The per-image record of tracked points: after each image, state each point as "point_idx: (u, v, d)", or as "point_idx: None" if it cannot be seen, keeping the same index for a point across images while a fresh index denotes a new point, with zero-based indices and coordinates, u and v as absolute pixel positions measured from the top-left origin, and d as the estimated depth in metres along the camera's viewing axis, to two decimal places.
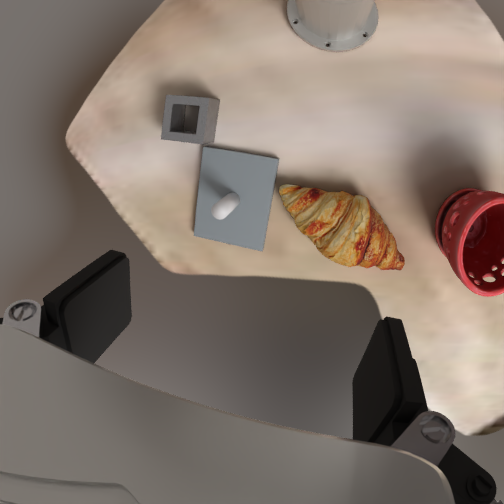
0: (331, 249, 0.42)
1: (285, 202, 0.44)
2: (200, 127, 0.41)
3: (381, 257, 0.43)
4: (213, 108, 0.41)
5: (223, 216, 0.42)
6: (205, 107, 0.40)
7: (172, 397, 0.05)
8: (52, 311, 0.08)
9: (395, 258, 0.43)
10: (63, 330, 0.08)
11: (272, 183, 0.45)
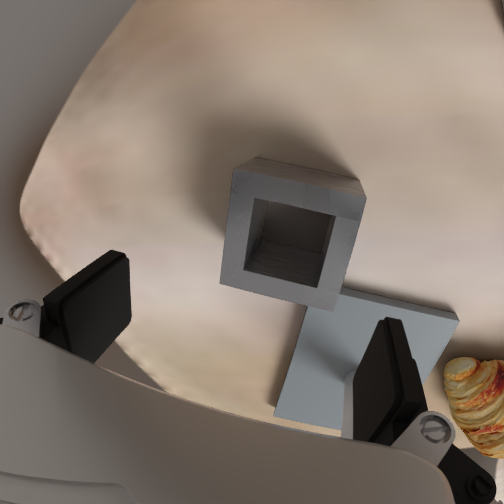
0: (494, 451, 0.18)
1: (453, 393, 0.19)
2: (331, 272, 0.16)
3: None
4: None
5: None
6: (351, 223, 0.15)
7: (172, 397, 0.05)
8: (52, 311, 0.08)
9: None
10: (63, 330, 0.08)
11: (436, 358, 0.21)
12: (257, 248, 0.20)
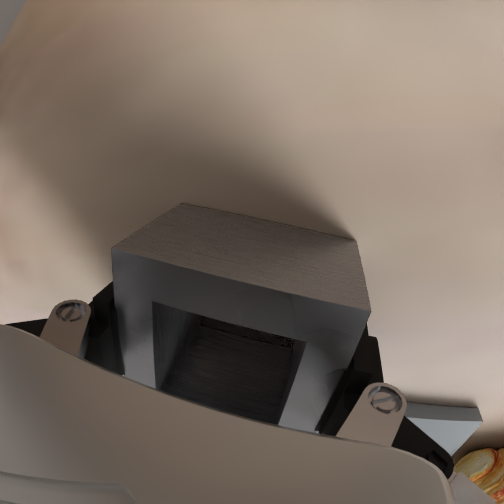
0: None
1: None
2: (298, 418, 0.09)
3: None
4: None
5: None
6: (336, 353, 0.07)
7: (172, 397, 0.05)
8: (103, 311, 0.08)
9: None
10: (112, 330, 0.09)
11: None
12: (190, 346, 0.12)
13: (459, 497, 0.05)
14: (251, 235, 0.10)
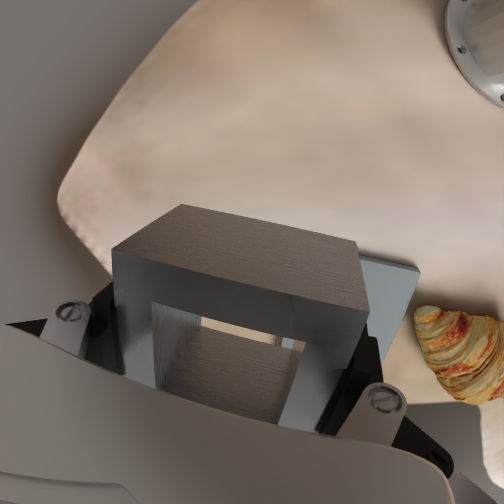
0: (465, 394, 0.25)
1: (423, 334, 0.27)
2: (297, 418, 0.09)
3: None
4: None
5: None
6: (335, 353, 0.07)
7: (172, 397, 0.05)
8: (103, 311, 0.08)
9: None
10: (112, 330, 0.09)
11: (405, 305, 0.28)
12: (190, 346, 0.12)
13: (459, 497, 0.05)
14: (251, 236, 0.10)
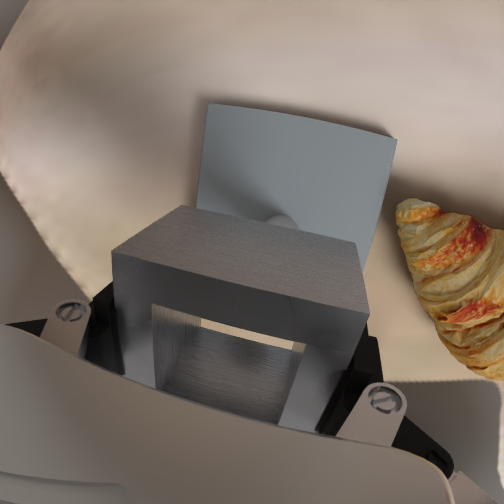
0: (488, 358, 0.15)
1: (412, 243, 0.16)
2: (297, 419, 0.09)
3: None
4: None
5: None
6: (336, 355, 0.07)
7: (172, 397, 0.05)
8: (103, 311, 0.08)
9: None
10: (112, 329, 0.09)
11: (380, 197, 0.18)
12: (190, 347, 0.12)
13: (459, 497, 0.05)
14: (250, 237, 0.10)
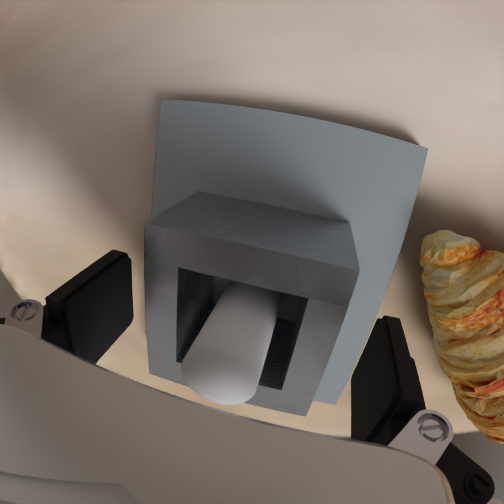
0: None
1: (442, 296, 0.11)
2: (302, 373, 0.10)
3: None
4: None
5: (237, 397, 0.09)
6: (333, 308, 0.09)
7: (172, 397, 0.05)
8: (54, 311, 0.08)
9: None
10: (65, 330, 0.08)
11: (401, 230, 0.12)
12: (204, 319, 0.14)
13: None
14: (260, 215, 0.12)
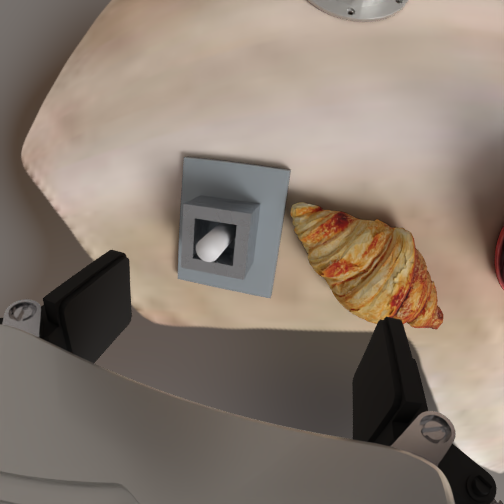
0: (357, 301, 0.29)
1: (298, 228, 0.31)
2: (239, 256, 0.30)
3: (417, 314, 0.30)
4: (254, 222, 0.31)
5: (213, 257, 0.28)
6: (245, 228, 0.29)
7: (172, 397, 0.05)
8: (52, 311, 0.08)
9: (434, 314, 0.31)
10: (63, 330, 0.08)
11: (282, 205, 0.32)
12: None
13: None
14: (223, 202, 0.32)
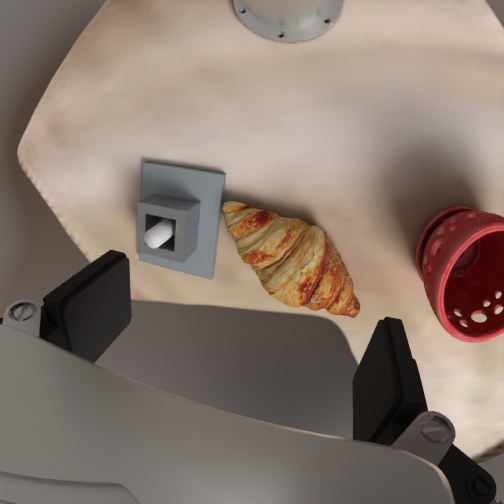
0: (272, 286, 0.37)
1: (227, 222, 0.38)
2: (178, 244, 0.37)
3: (331, 302, 0.37)
4: (193, 217, 0.38)
5: (157, 245, 0.35)
6: (182, 222, 0.36)
7: (172, 397, 0.05)
8: (52, 311, 0.08)
9: (350, 304, 0.38)
10: (63, 330, 0.08)
11: (218, 203, 0.39)
12: None
13: None
14: (170, 200, 0.38)
